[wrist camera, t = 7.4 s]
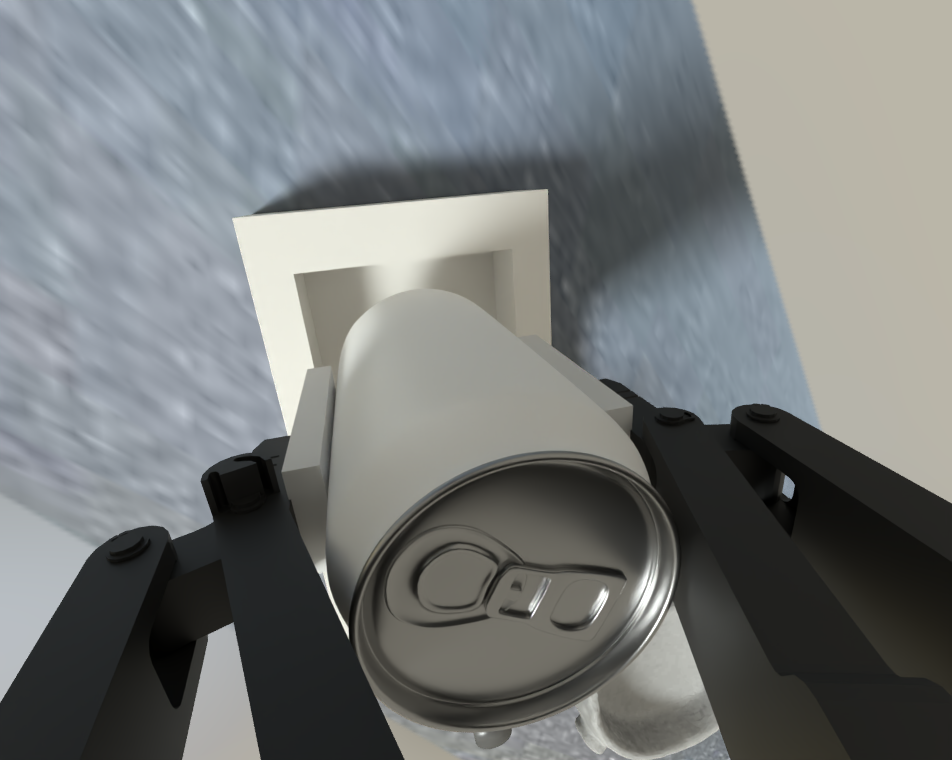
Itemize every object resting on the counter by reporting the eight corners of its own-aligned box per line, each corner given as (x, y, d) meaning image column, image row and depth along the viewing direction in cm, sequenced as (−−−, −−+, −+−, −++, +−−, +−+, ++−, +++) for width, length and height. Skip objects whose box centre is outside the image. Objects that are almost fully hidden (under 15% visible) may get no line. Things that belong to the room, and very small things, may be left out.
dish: (749, 516, 32) (814, 569, 28) (713, 666, 37) (764, 731, 33) (546, 553, 29) (582, 619, 25) (536, 712, 34) (565, 791, 29)
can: (371, 258, 17) (411, 367, 6) (529, 321, 19) (771, 484, 8) (314, 419, 18) (261, 745, 7) (467, 460, 21) (599, 757, 10)
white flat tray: (251, 214, 19) (232, 218, 16) (517, 190, 21) (547, 189, 18) (350, 625, 27) (351, 682, 24) (535, 578, 29) (558, 625, 26)
